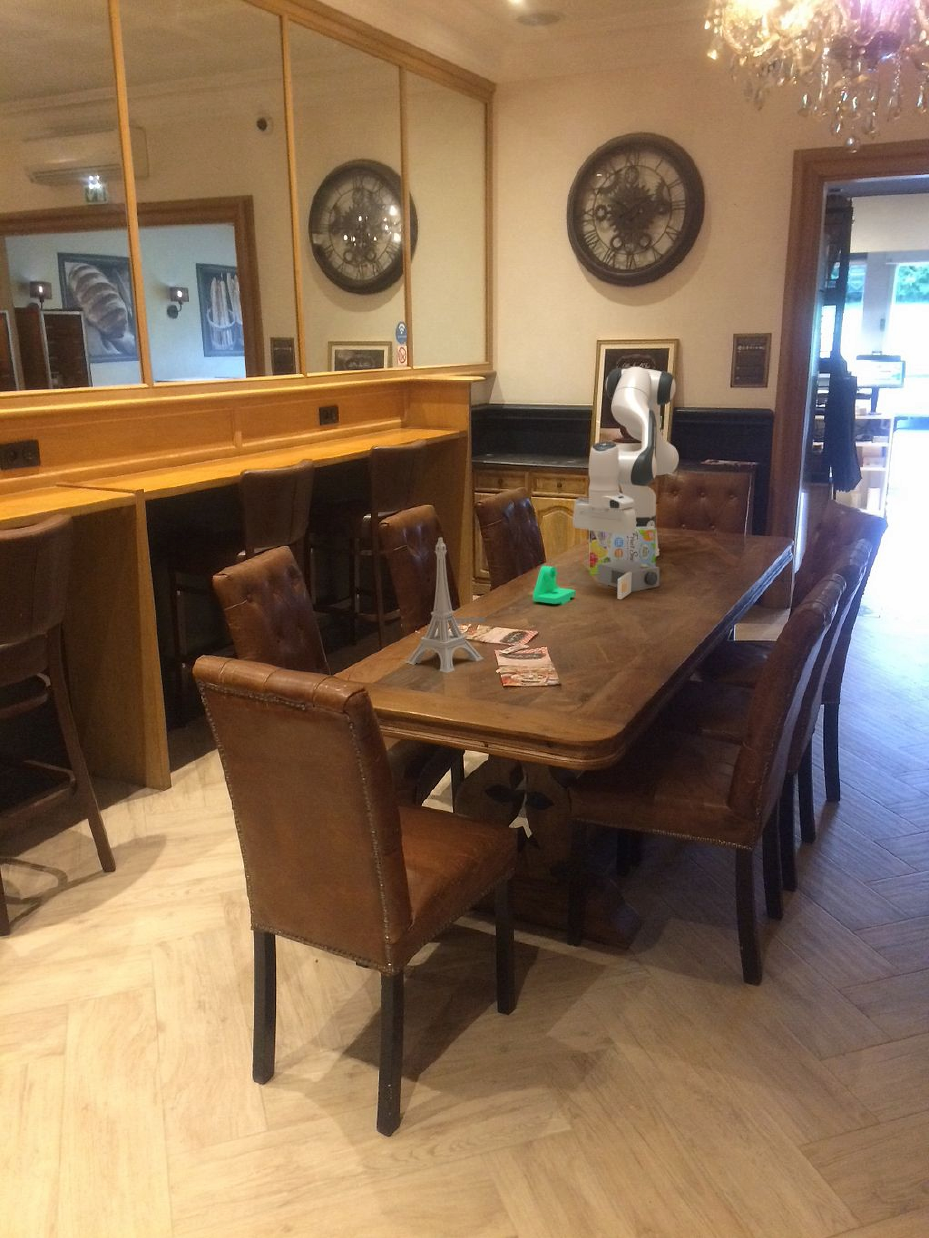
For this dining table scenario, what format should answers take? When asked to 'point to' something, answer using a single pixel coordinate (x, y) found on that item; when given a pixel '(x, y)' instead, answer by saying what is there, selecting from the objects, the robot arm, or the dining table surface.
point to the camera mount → (550, 588)
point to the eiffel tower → (443, 623)
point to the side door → (624, 585)
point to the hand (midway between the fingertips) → (603, 546)
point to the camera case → (641, 573)
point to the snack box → (624, 548)
